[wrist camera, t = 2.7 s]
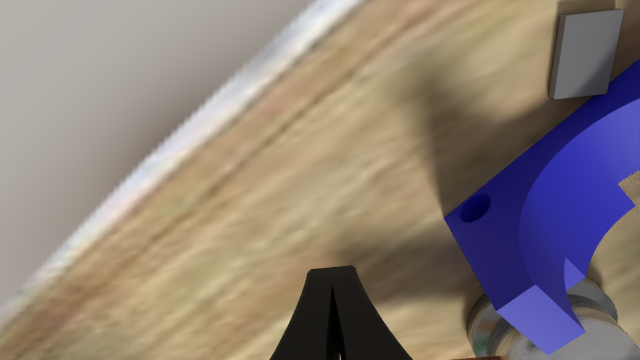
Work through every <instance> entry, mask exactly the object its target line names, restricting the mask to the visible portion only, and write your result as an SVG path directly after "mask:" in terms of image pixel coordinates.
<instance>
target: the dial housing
mask: <svg viewBox="0 0 640 360" xmlns="http://www.w3.org/2000/svg"><path fill="white" fill-rule="evenodd" d="M566 292H567V294H575V295H580V296H584V297H587V298H590V299H592V300H594V301H596V302H597V303H599V304H600V305H601V306H602V307H603V308H604V309H605V310H606V311H607V312H608V313H609V314H610V315H611V317H612V318H613V319H614V320H615V321H616V322H617V320H618V317H617V311H616V308H615V306H614V304H613V302H612V301H611V299H610V298H609V297H608V296H607V295H606V294H605V293H604V292H603V291H602V289H601V288H600V287H599V286H598V285H597V284H596V283H595V282H594V281H593V280H592V279H590V278H589V277H588V276H586V278H584V279H583V280H581V281H580V282H578V283H577V284H575V285H574V286H572V287H571V288H569V289H568V290H566ZM502 318H503V317H502V316H501V315H500V314H498V313H497V312H496V310H495V309H494V307H493V305H492V303H491V301H490V300H489V298H488V296H487V294H486V293H485V294H484V295H483V296H482V298H481V299H480V300H479V301H478V302H477V304H476V305H475V307H474V308H473V310H472V312H471V314H470V317H469V320H468V326H467V334H468V339H469V342H470V344H471V347H472V349H473V351H474V353H475V356H476V358H477V357H487V352H486V347H487V341H488V338H489V336H490V334H491V332H492V330H493V328H494V327H495V326H496V324H497V323H498V322H499V321H500V320H501V319H502Z"/></svg>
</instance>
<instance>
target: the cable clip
mask: <svg viewBox="0 0 640 360" xmlns="http://www.w3.org/2000/svg"><path fill="white" fill-rule="evenodd" d="M638 170H640V59H638V60H637V61H636V62H635V63H633V64H632V65H631V66H630V67H629V68H627V69H626V70H625V71H624V72H622V73H621V74H620V75H619V76H618V77H616V78H615V79H614V80H613V81H611V82H610V83H609V85H608V90H607V94H601V95H594V96H593V97H592V98H591V99H589V100H588V101H587V102H586V103H584V104H583V105H582V106H581V107H580V108H578V109H577V110H576V111H575V112H573V113H572V114H571V115H570V116H569V117H567V118H566V119H565V120H564V121H562V122H561V123H560V124H559V125H557V126H556V127H555V128H554V129H553V130H551V131H550V132H549V133H548V134H546V135H545V136H544V137H543V138H542V139H540V140H539V141H538V142H537V143H535V144H534V145H533V146H532V147H530V148H529V149H528V150H527V151H526V152H524V153H523V154H522V155H521V156H519V157H518V158H517V159H516V160H515V161H513V162H512V163H511V164H510V165H508V166H507V167H506V168H505V169H504V170H502V171H501V172H500V173H499V174H497V175H496V176H495V177H494V178H492V179H491V180H490V181H489V182H488V183H486V184H485V185H484V186H483V187H481V188H480V189H479V190H478V191H477V192H475V193H474V194H473V195H472V196H470V197H469V198H468V199H467V200H466V201H464V202H463V203H462V204H461V205H459V206H458V207H457V208H456V209H454V210H453V211H452V212H451V213H450V214H448V215H447V216H446V217H445V218H444V219H445V221H446V223H447V225H448V227H449V228H450V230H451V232H452V234H453V236H454V237H455V239H456V241H457V243H458V244H459V246H460V248H461V250H462V252H463V253H464V255H465V257H466V259H467V260H468V262H469V264H470V266H471V268H472V269H473V271H474V273H475V275H476V277H477V278H478V280H479V282H480V284H481V285H482V287H483V289H484V291H485V293H486V294H487V296H488V298H489V300H490V301H491V303H492V305H493V307H494V309H495V310H496V312H497V313H498V314H500V315H501V316H502V317H503V318H504V319H506V320H507V321H508V322H509V323H510V324H511V325H513V326H514V327H515V328H516V329H517V330H518V331H520V332H521V333H522V334H523V335H524V336H525V337H527V338H528V339H529V340H530V341H531V342H532V343H534V344H535V345H536V346H537V347H538V348H539V349H541V350H542V351H543V352H544V353H545V354H546V355H550V354H552V353H553V352H555V351H556V350H558V349H560V348H561V347H563V346H565V345H566V344H568V343H569V342H571V341H573V340H574V339H576V338H577V337H579V336H581V335H582V334H584V333H586V331H585V329H584V328H583V327H582V325H581V324H580V322H579V321H578V319H577V317H576V315H575V313H574V312H573V310H572V307H571V305H570V302H569V299H568V296H567V292H566V290H568V289H569V288H571V287H572V286H574V285H575V284H577V283H578V282H580V281H581V280H583V279H584V278H586V274H587V270H588V266H589V263H590V260H591V258H592V255H593V253H594V251H595V249H596V247H597V246H598V244H599V242H600V241H601V239H602V238H603V237H604V235H605V234H606V233H607V232H608V230H609V229H610V228H611V227H612V226H613V225H614V224H615V223H616V222H617V221H618V220H619V219H620V218H621V217H622V216H623V215H625V214H626V213H627V212H628V211H629V210H631V209H632V208H633V207H635V204H634V203H633V202H632V201H631V200H630V198H629V197H628V196H627V195H626V194H625V192H624V191H623V190H622V189H621V188H620V186H619V185H618V183H619V182H621V181H622V180H623V179H625V178H627V177H628V176H630V175H631V174H633V173H635V172H637V171H638Z"/></svg>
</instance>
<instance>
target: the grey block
mask: <svg viewBox="0 0 640 360" xmlns="http://www.w3.org/2000/svg"><path fill="white" fill-rule="evenodd" d="M623 13H624V9H610V10H601V11H592V12H583V13H574V14H565V15H560V20H559V27H558V34H557V41H556V48H555V54H554V61H553V68H552V75H551V82H550V89H549V96H548V97H550V98H552V99H563V98H572V97H582V96H592V95H601V94H607V90H608V85H609V81H610V76H611V71H612V66H613V61H614V57H615V52H616V47H617V42H618V37H619V33H620V28H621V23H622V18H623Z"/></svg>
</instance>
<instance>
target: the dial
mask: <svg viewBox="0 0 640 360" xmlns="http://www.w3.org/2000/svg"><path fill="white" fill-rule="evenodd" d="M567 296H568V299H569V302H570V305H571V307H572V310H573V312H574V313H575V315H576V317H577V319H578V321H579V322H580V324H581V325H582V327H583V328H584V329H585V331H586V333H584V334H582V335H581V336H579V337H577V338H576V339H574V340H573V341H571V342H569V343H568V344H566V345H565V346H563V347H561V348H560V349H558V350H556V351H555V352H553V353H552V354H550V355H546V354H545V353H544V352H543V351H542V350H541V349H539V348H538V347H537V346H536V345H535V344H534V343H532V342H531V341H530V340H529V339H528V338H527V337H525V336H524V335H523V334H522V333H521V332H520V331H518V330H517V329H516V328H515V327H514V326H513V325H511V324H510V323H509V322H508V321H507V320H506V319H504V318H502V319H501V320H500V321H499V322H498V323H497V324H496V326H495V327H494V328H493V330H492V332H491V334H490V336H489V338H488V341H487V347H486V352H487V357H477V358H465V359H453V360H640V348H639V346H638V345H637V344H636V343H635V342H634V341H633V340H632V339H631V338H630V336H629V335H628V334H627V333H626V332H625V331H624V330H623V329H622V328H621V327H620V325H619V324H618V323H617V322H616V321H615V320H614V319H613V318H612V317H611V315H610V314H609V313H608V312H607V311H606V310H605V309H604V308H603V307H602V306H601V305H600V304H599V303H597V302H596V301H594V300H592V299H590V298H587V297H584V296H580V295H575V294H567Z"/></svg>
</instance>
